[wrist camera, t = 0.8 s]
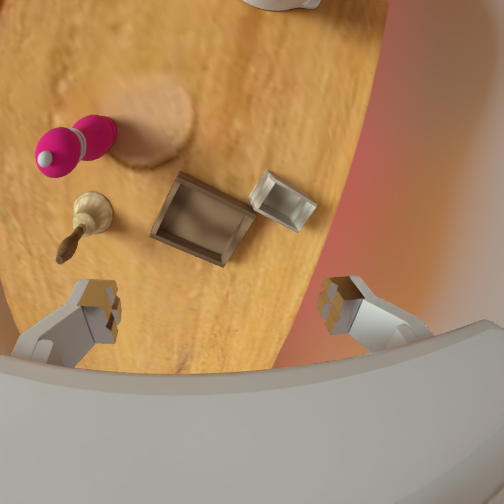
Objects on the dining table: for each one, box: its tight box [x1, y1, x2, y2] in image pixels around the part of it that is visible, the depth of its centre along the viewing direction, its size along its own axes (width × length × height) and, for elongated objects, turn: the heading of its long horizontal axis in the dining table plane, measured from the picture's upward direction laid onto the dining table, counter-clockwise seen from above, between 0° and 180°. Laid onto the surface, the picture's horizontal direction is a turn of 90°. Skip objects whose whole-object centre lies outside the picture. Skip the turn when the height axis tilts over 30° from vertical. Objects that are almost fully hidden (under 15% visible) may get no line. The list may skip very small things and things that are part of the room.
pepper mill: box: [35, 115, 117, 178], centre depth 30 cm, size 7×7×20 cm
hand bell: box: [56, 192, 113, 264], centre depth 38 cm, size 8×8×16 cm
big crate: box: [150, 172, 257, 268], centre depth 48 cm, size 12×15×4 cm
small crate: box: [248, 170, 318, 233], centre depth 47 cm, size 6×9×6 cm, turn 59°
